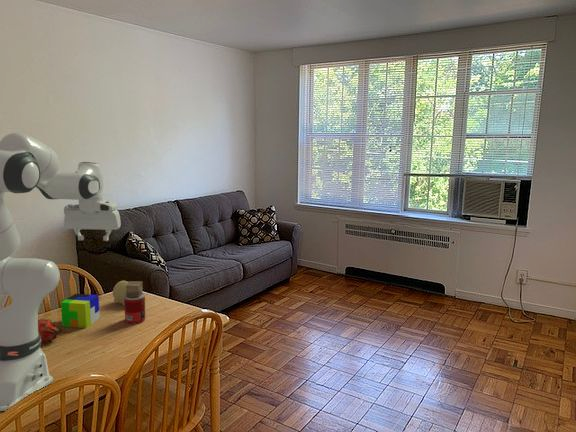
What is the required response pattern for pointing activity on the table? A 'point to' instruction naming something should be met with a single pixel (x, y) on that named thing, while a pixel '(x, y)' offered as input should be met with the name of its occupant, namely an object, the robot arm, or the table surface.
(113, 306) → the table surface
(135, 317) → the canned food
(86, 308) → the puzzle toy
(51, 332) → the dragon fruit
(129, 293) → the walnut cube
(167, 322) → the table surface
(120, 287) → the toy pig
